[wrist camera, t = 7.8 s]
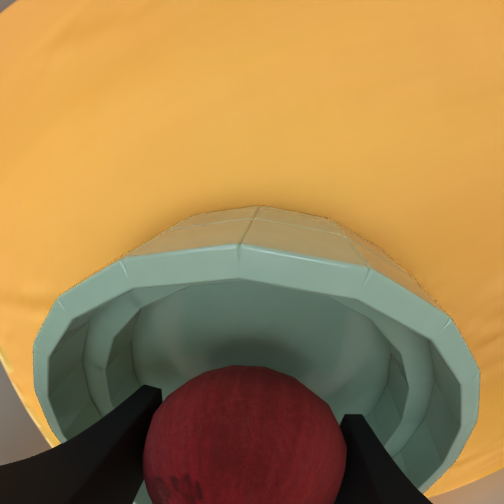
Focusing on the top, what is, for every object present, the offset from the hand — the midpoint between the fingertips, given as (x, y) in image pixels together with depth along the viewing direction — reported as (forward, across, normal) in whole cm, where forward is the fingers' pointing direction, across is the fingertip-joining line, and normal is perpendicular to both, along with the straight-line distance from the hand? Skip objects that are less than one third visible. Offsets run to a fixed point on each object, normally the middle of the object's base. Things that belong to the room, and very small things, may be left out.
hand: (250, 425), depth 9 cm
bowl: (+3, 0, 0) cm, 3 cm away
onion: (+2, 0, 0) cm, 2 cm away
